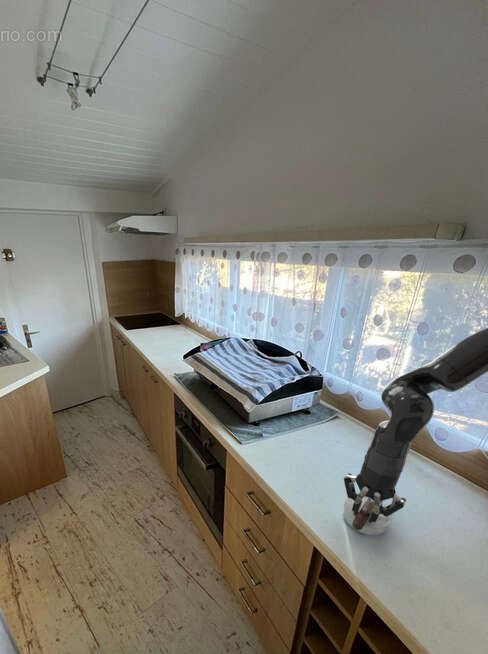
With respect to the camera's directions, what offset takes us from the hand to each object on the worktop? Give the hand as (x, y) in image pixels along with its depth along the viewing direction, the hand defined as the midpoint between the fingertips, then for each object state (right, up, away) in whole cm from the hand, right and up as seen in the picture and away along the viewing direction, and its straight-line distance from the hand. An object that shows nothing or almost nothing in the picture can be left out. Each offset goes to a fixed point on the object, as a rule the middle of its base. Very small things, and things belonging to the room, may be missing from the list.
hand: (363, 516), depth 78 cm
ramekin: (+2, -4, +5) cm, 7 cm away
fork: (+2, +1, +2) cm, 3 cm away
